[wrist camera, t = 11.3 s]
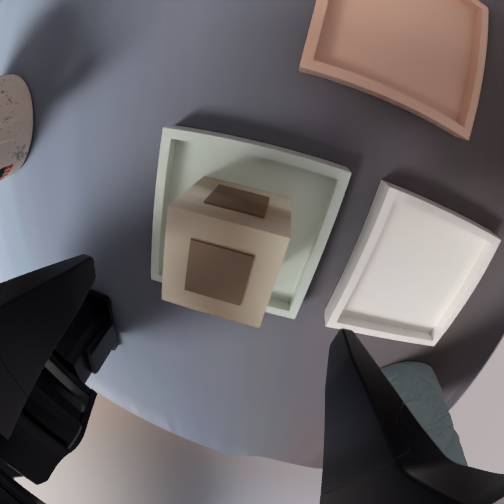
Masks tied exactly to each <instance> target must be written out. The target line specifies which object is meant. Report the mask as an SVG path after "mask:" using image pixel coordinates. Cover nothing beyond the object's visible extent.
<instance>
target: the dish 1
mask: <svg viewBox="0 0 504 504" xmlns="http://www.w3.org/2000/svg"><path fill="white" fill-rule="evenodd" d="M351 174H352V173H351V172H350V170H349V169H348V168H347V167H345V166H342V165H339V164H336V163H333V162H330V161H327V160H324V159H321V158H317V157H314V156H311V155H307V154H304V153H300V152H297V151H293V150H290V149H286V148H282V147H279V146H275V145H271V144H267V143H263V142H259V141H254V140H250V139H246V138H241V137H237V136H232V135H227V134H222V133H217V132H212V131H206V130H201V129H195V128H189V127H183V126H176V125H173V126H168V127H163V131H162V138H161V145H160V153H159V161H158V169H157V179H156V189H155V200H154V213H153V229H152V252H151V279H152V280H155V281H158V282H161V283H162V277H163V259H164V245H165V232H166V221H167V211H168V206H169V205H170V204H171V203H172V202H173V201H174V200H176V199H177V198H178V197H179V196H180V195H182V194H183V193H184V192H185V191H186V190H188V189H189V188H190V187H191V186H192V185H194V184H195V183H196V182H197V181H199V180H200V179H201V178H202V177H204V176H206V177H211V178H215V179H219V180H223V181H227V182H232V183H236V184H240V185H243V186H247V187H251V188H255V189H259V190H263V191H266V192H270V193H274V194H277V195H281V196H284V197H288V198H291V199H292V202H291V236H290V241H289V244H288V247H287V250H286V253H285V256H284V259H283V262H282V265H281V268H280V271H279V274H278V277H277V279H276V282H275V285H274V288H273V291H272V294H271V297H270V299H269V302H268V305H267V308H266V311H265V312H267V313H271V314H275V315H279V316H283V317H287V318H292V319H295V317H296V315H297V313H298V310H299V308H300V306H301V304H302V301H303V299H304V297H305V294H306V292H307V290H308V287H309V285H310V283H311V280H312V278H313V275H314V273H315V270H316V268H317V266H318V263H319V261H320V258H321V256H322V253H323V251H324V248H325V245H326V243H327V240H328V238H329V235H330V232H331V230H332V227H333V225H334V222H335V219H336V216H337V214H338V211H339V208H340V205H341V203H342V200H343V197H344V194H345V191H346V188H347V186H348V183H349V180H350V177H351Z"/></svg>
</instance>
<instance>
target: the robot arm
mask: <svg viewBox="0 0 504 504" xmlns="http://www.w3.org/2000/svg"><path fill="white" fill-rule="evenodd" d="M95 277H96V274H95V266H94V259H93V258H92V257H91V256H88V255H86V254H82V255H79V256H76V257H73V258H70V259H67V260H64V261H61V262H58V263H55V264H52V265H49V266H46V267H44V268H41V269H38V270H35V271H32V272H29V273H27V274H24V275H21V276H18V277H16V278H13V279H10V280H8V281H7V282H6V281H5V282H2V283H0V504H46V503H44V502H43V501H41V500H40V499H38V498H37V497H36V496H34V495H33V494H31V493H30V492H29V491H27V490H26V489H25V488H23V487H22V486H21V485H20V484H18V483H17V482H16V481H15V480H14V478H15V477H22V476H24V477H26V478H27V479H29V480H30V481H32V482H33V483H35V484H37V485H38V484H41V483H43V482H46V481H47V480H48V479H49V477H50V475H51V473H52V472H53V470H54V469H55V467H56V466H57V464H58V463H59V462H60V461H61V460H62V459H63V457H65V456H66V455H67V454H68V453H70V452H72V451H73V450H74V449H75V448H76V447H77V446H78V445H79V443H80V442H81V440H82V438H83V436H84V433H85V430H86V427H87V424H88V420H89V417H90V414H91V410H92V408H93V404H94V402H95V398H96V396H97V393H96V392H95V391H94V390H93V389H90V388H89V387H88V386H87V385H85V383H86V381H87V379H88V378H89V376H90V374H91V373H94V374H96V373H98V371H99V369H100V368H101V366H102V365H103V363H104V361H105V360H106V358H107V356H108V355H109V353H110V352H111V350H116V348H117V347H118V345H117V338H116V332H115V326H114V322H113V316H112V310H111V303H110V300H109V298H107V297H106V296H104V295H102V294H99V293H97V292H94V291H92V290H90V288H91V286H92V285H93V283H94V281H95ZM403 403H404V401H403V400H402V399H401V397H400V396H399V394H398V393H397V391H396V390H395V389H394V387H393V386H392V384H391V383H390V381H389V380H388V379H387V377H386V376H385V374H384V373H383V372H382V370H381V369H380V367H379V366H378V365H377V363H376V362H375V361H374V359H373V358H372V356H371V355H370V354H369V352H368V351H367V350H366V348H365V347H364V345H363V344H362V343H361V341H360V340H359V339H358V337H357V336H356V335H355V333H354V332H353V331H352V330H349V329H344V328H342V329H340V330H339V331H338V333H337V335H336V336H335V338H334V340H333V341H332V343H331V345H330V348H329V357H328V367H327V376H326V386H325V431H324V455H323V473H322V485H321V486H322V487H321V494H322V495H321V496H320V504H504V474H497V473H492V472H488V471H484V470H479V469H476V468H472V467H468V466H465V465H461V464H458V463H456V462H453V461H452V460H450V459H449V458H448V457H446V456H445V454H444V453H443V452H442V451H441V450H440V448H439V447H438V446H437V445H436V444H435V442H434V441H433V440H432V439H431V437H430V436H429V435H428V434H427V433H426V431H425V430H424V429H423V428H422V426H421V425H420V424H419V422H418V421H417V420H416V418H415V417H414V416H413V414H412V413H411V411H410V410H409V409H408V407H407V406H406V404H405V403H404V404H403Z"/></svg>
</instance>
